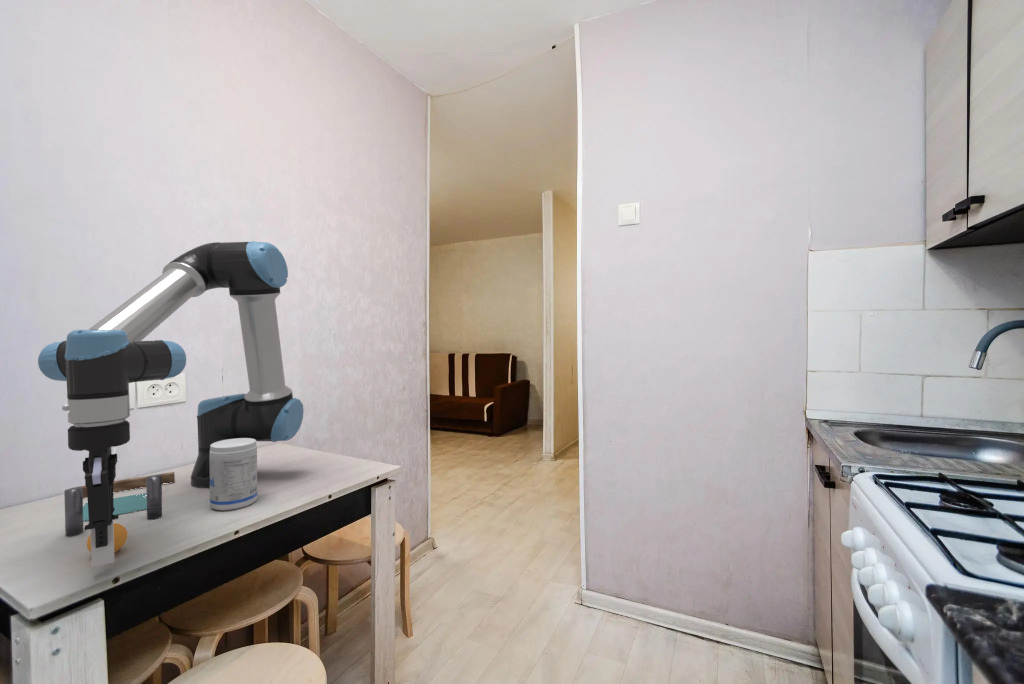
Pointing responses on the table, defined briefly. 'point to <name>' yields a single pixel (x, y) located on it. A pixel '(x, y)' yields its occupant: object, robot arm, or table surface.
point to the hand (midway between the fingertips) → (103, 563)
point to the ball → (119, 537)
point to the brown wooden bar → (135, 483)
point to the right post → (154, 496)
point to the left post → (73, 511)
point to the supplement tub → (233, 473)
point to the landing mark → (123, 505)
